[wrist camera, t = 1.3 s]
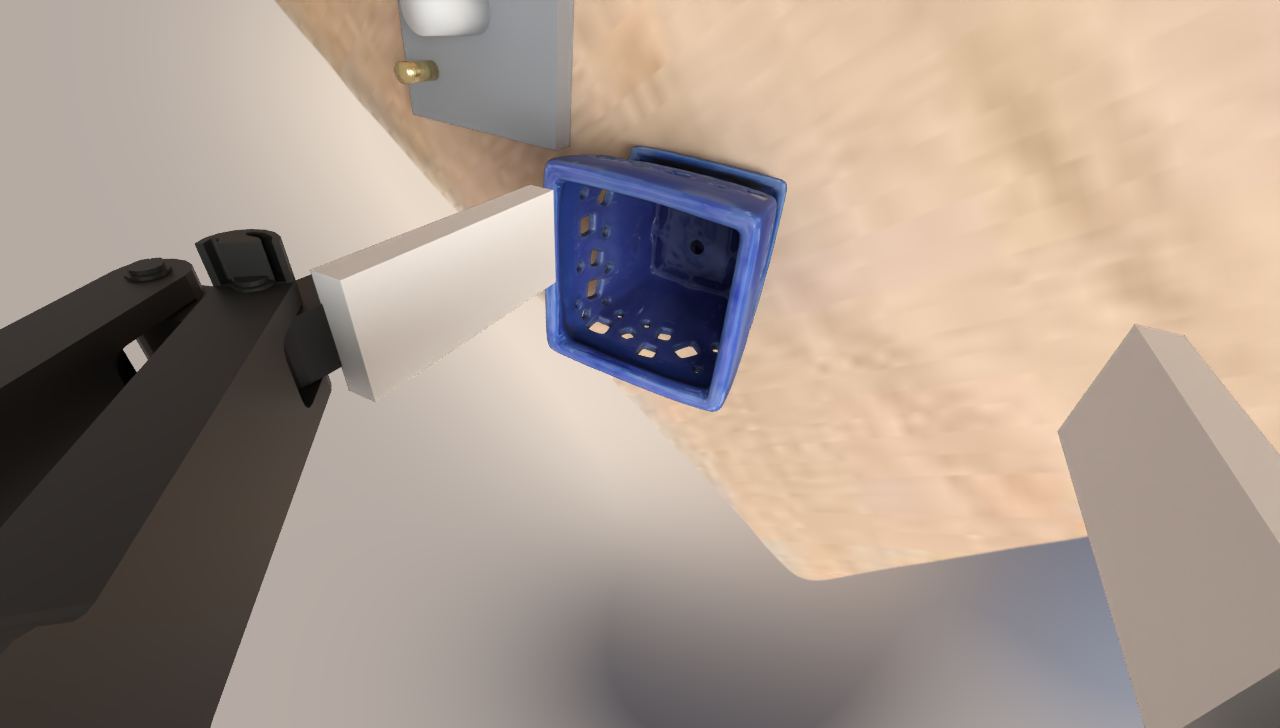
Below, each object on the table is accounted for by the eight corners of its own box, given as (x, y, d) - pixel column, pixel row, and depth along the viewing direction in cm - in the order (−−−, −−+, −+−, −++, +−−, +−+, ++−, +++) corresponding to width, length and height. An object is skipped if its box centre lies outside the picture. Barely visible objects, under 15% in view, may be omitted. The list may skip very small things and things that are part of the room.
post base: (401, -146, 35) (305, -176, 30) (577, -135, 31) (504, -168, 26) (430, 111, 44) (362, 122, 39) (569, 146, 40) (514, 164, 35)
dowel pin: (423, 58, 40) (392, 60, 38) (437, 61, 39) (407, 63, 37) (426, 78, 41) (396, 81, 38) (440, 82, 40) (410, 85, 38)
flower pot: (619, 288, 45) (540, 354, 36) (632, 125, 37) (535, 156, 28) (766, 335, 41) (719, 421, 32) (815, 162, 33) (770, 212, 24)
